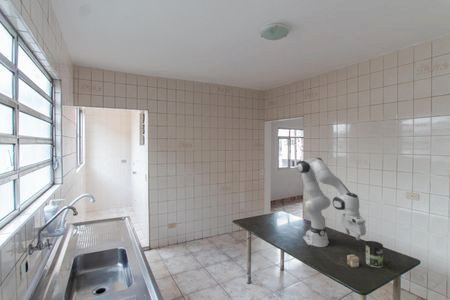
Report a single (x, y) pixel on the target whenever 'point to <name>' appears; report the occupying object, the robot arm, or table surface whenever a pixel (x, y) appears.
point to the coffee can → (374, 254)
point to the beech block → (353, 260)
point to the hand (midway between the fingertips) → (352, 237)
